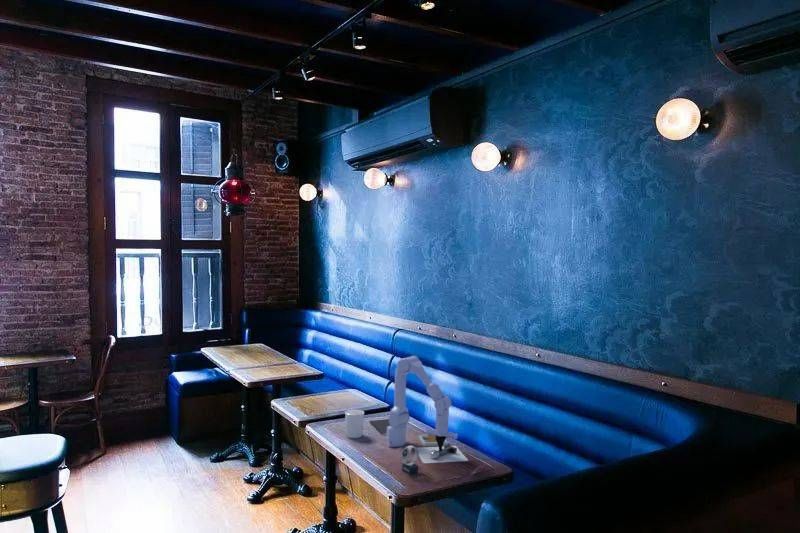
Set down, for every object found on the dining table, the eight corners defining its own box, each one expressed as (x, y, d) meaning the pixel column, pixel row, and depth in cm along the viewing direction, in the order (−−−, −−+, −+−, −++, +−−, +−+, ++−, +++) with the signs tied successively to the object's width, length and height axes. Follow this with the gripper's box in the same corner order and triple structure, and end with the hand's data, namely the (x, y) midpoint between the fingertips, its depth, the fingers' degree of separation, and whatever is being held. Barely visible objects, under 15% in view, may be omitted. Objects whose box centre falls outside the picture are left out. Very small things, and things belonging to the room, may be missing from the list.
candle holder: (348, 439, 271) (349, 416, 271) (341, 433, 280) (342, 410, 280) (366, 437, 276) (367, 413, 276) (359, 431, 285) (359, 408, 284)
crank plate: (423, 465, 241) (423, 463, 241) (413, 449, 260) (413, 447, 260) (468, 462, 245) (468, 460, 245) (455, 447, 264) (455, 445, 264)
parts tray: (424, 448, 262) (424, 443, 262) (418, 440, 273) (418, 435, 273) (447, 447, 264) (447, 442, 264) (440, 439, 276) (441, 434, 276)
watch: (398, 471, 234) (399, 446, 233) (413, 467, 238) (414, 442, 238) (406, 476, 229) (406, 450, 229) (421, 472, 234) (421, 446, 234)
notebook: (369, 423, 299) (382, 436, 280) (369, 420, 299) (382, 433, 280) (391, 421, 304) (405, 433, 284) (391, 418, 304) (405, 430, 284)
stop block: (435, 444, 266) (435, 432, 266) (427, 443, 268) (428, 431, 268) (438, 442, 270) (439, 430, 270) (431, 440, 272) (431, 428, 271)
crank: (436, 460, 244) (436, 453, 244) (426, 456, 248) (426, 450, 248) (456, 452, 254) (456, 446, 254) (446, 449, 258) (446, 442, 258)
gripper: (424, 422, 251) (423, 451, 251) (455, 427, 246) (453, 457, 247) (428, 418, 257) (427, 446, 258) (458, 423, 253) (457, 451, 253)
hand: (440, 451), depth 253 cm, fingers closed, pressing on crank
